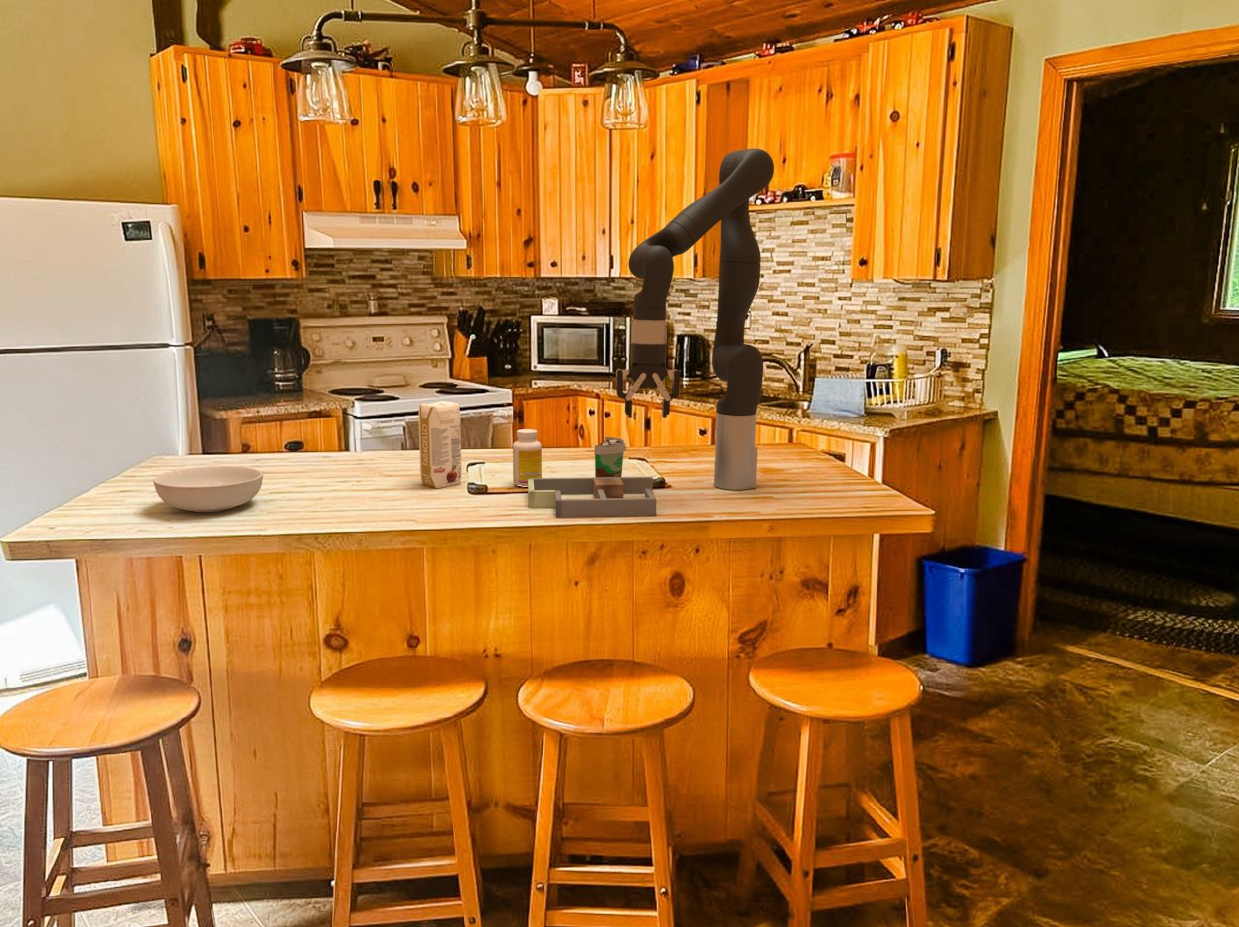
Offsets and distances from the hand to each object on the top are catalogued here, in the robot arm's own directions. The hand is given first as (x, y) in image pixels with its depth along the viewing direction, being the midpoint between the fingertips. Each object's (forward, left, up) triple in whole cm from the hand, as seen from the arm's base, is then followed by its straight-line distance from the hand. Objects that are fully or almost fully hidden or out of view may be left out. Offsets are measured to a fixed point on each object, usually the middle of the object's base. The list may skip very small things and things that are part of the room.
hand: (646, 417), depth 207 cm
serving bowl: (+92, +2, -18) cm, 94 cm away
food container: (+6, -15, -18) cm, 24 cm away
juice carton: (+46, -16, -18) cm, 52 cm away
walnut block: (+8, 0, -18) cm, 20 cm away
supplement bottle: (+26, -14, -18) cm, 35 cm away
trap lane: (+12, +4, -18) cm, 22 cm away
